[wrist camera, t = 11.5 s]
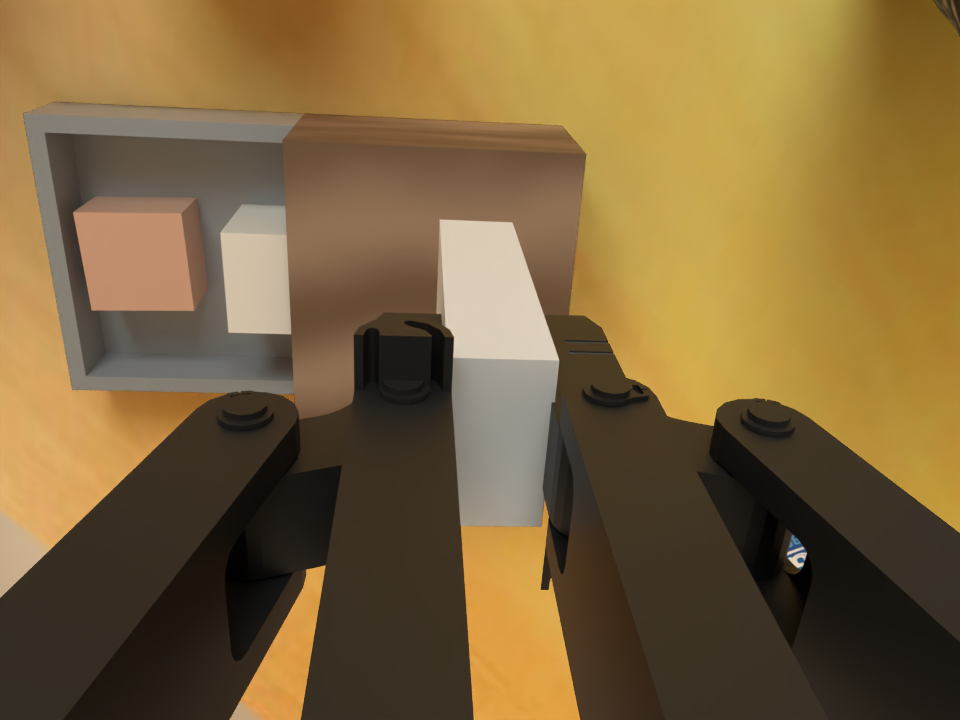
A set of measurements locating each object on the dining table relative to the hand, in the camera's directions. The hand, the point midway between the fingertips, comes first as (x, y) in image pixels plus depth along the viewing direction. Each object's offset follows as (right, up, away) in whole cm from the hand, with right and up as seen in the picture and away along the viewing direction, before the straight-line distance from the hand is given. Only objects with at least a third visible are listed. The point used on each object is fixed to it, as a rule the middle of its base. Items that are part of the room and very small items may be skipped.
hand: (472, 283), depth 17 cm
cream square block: (-9, +3, +24) cm, 26 cm away
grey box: (-15, +4, +26) cm, 31 cm away
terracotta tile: (-17, +3, +23) cm, 28 cm away
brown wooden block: (-3, +4, +27) cm, 28 cm away
